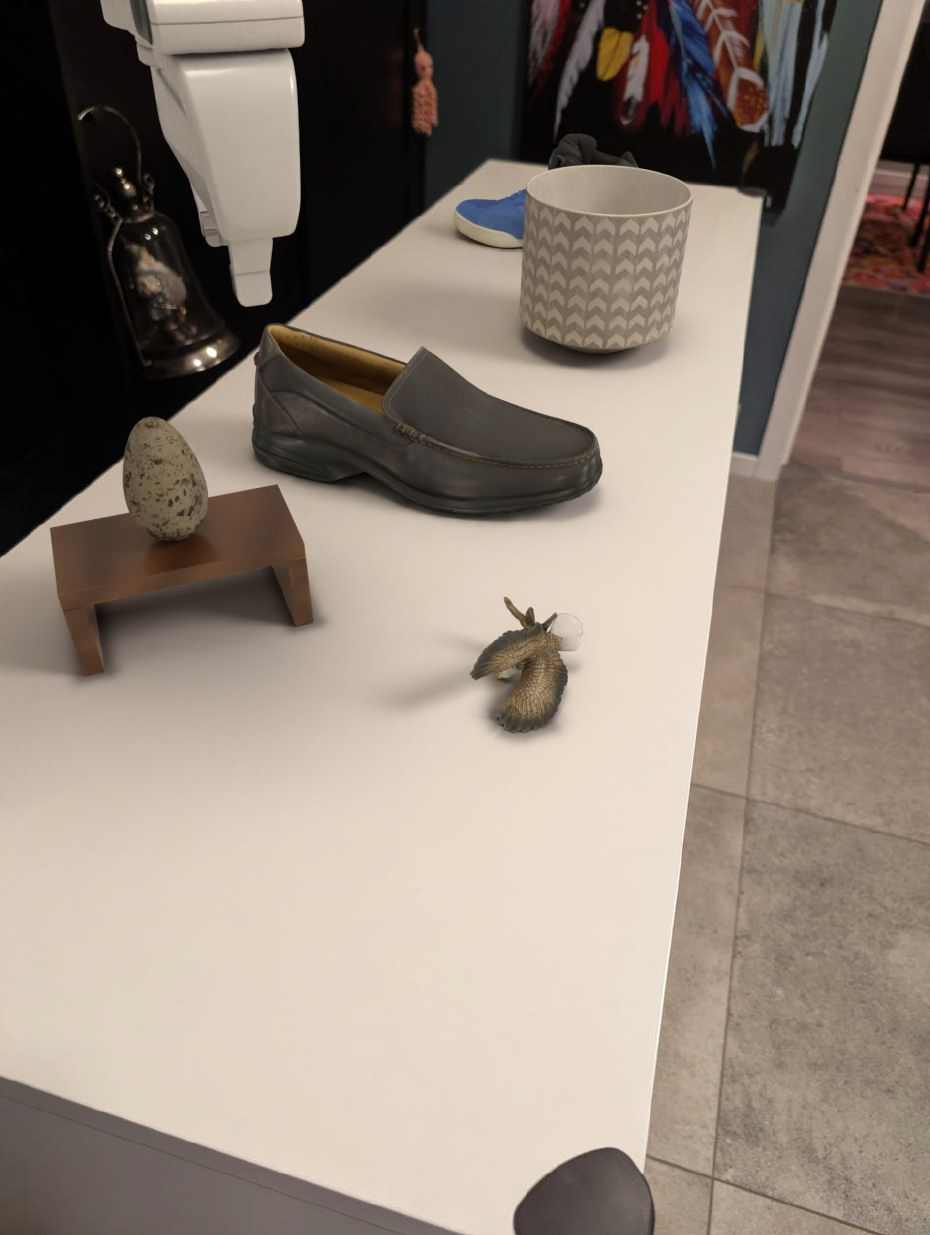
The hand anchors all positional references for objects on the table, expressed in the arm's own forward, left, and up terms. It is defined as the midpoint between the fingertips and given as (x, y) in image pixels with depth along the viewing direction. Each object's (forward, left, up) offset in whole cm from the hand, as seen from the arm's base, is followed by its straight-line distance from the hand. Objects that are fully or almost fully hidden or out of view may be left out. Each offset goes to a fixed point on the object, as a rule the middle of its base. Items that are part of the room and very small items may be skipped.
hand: (235, 269), depth 54 cm
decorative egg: (-6, +10, -23) cm, 26 cm away
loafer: (+19, +24, -31) cm, 44 cm away
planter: (+50, +46, -31) cm, 75 cm away
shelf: (-6, +10, -31) cm, 33 cm away
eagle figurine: (+16, -8, -31) cm, 36 cm away
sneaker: (+59, +79, -31) cm, 104 cm away
